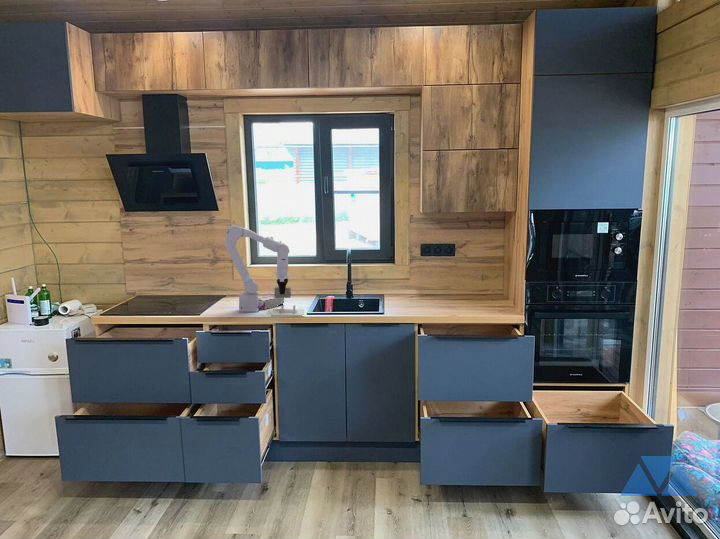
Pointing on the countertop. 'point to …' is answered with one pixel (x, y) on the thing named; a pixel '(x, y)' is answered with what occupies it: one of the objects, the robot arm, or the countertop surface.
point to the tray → (287, 312)
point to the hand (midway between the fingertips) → (282, 293)
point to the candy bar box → (269, 301)
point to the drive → (286, 295)
